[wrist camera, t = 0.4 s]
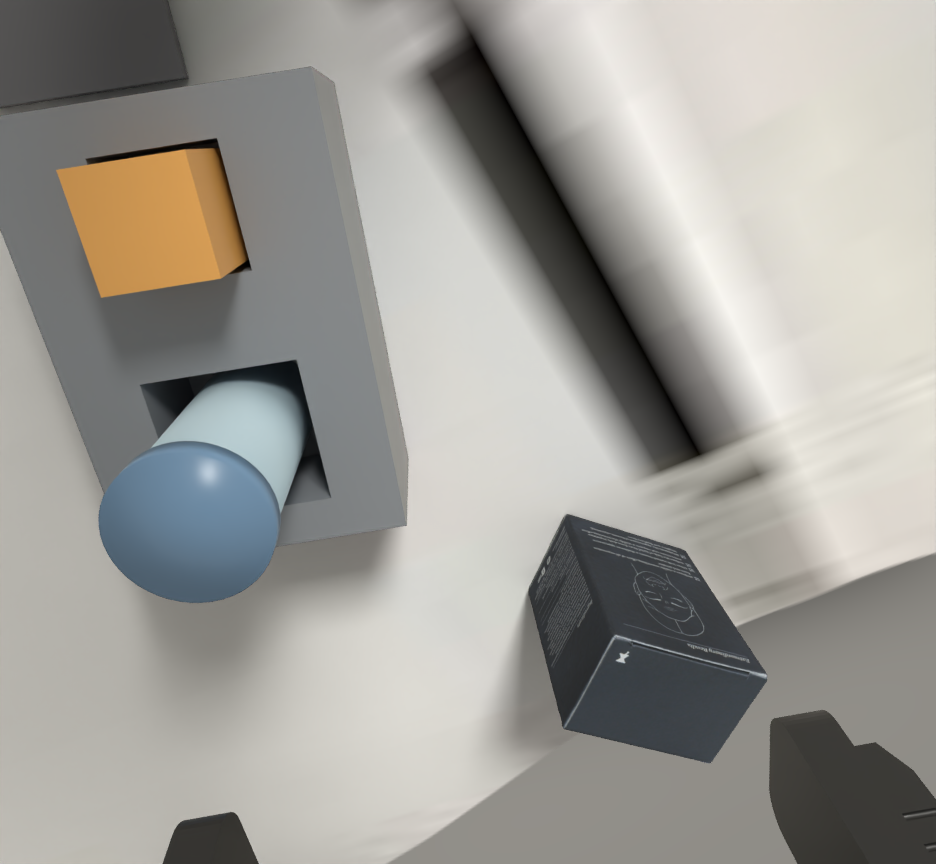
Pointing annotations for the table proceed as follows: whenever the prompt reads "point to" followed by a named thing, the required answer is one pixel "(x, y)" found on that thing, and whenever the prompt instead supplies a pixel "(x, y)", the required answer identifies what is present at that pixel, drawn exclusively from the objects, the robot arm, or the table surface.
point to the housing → (220, 287)
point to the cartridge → (211, 487)
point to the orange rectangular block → (155, 220)
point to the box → (639, 643)
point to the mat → (84, 48)
